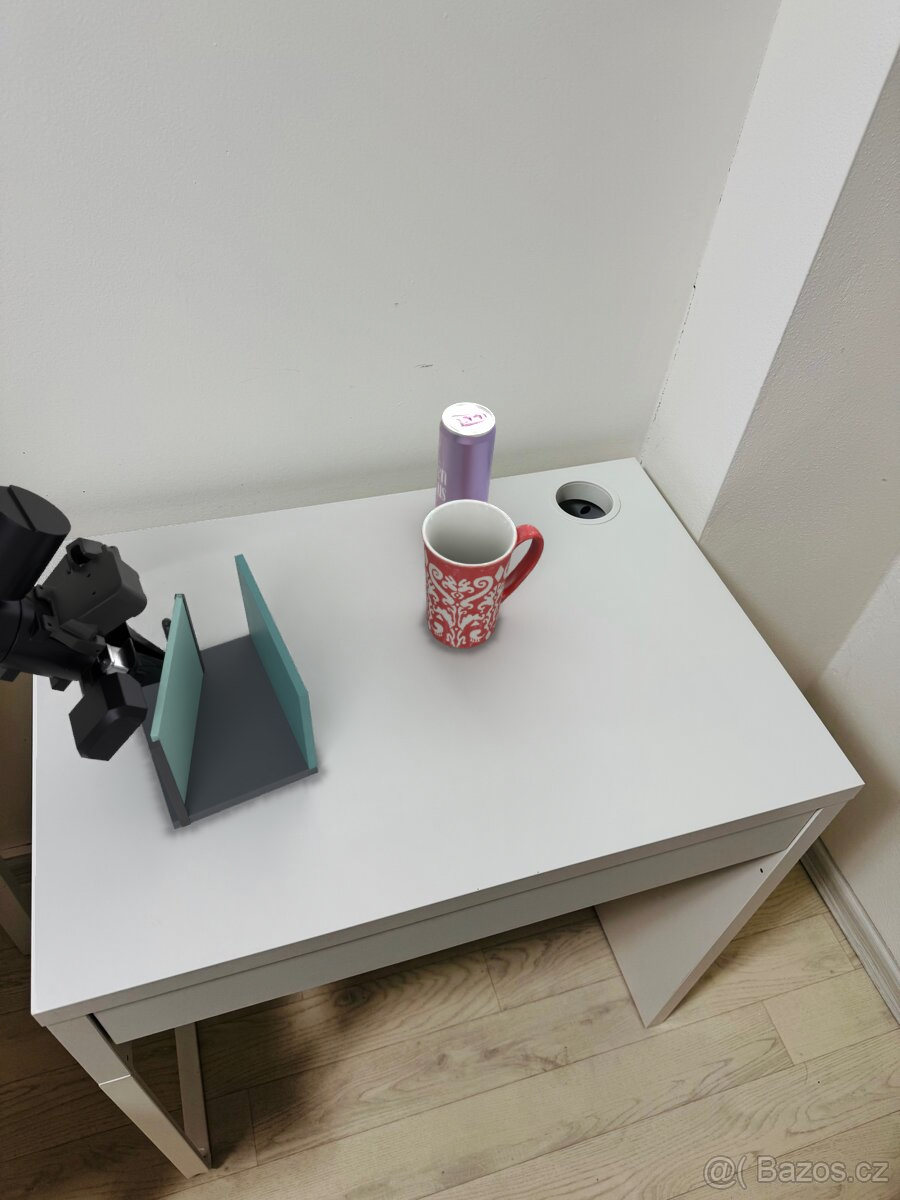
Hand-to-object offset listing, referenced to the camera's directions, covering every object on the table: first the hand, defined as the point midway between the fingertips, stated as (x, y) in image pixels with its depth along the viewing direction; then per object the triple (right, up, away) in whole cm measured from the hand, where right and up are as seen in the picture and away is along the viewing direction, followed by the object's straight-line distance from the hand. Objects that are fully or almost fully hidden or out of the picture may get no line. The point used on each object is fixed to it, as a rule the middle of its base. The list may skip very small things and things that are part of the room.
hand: (176, 669), depth 74 cm
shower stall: (+3, -6, +4) cm, 7 cm away
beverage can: (+25, +15, +24) cm, 38 cm away
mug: (+27, +4, +15) cm, 31 cm away
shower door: (0, -6, +2) cm, 6 cm away
